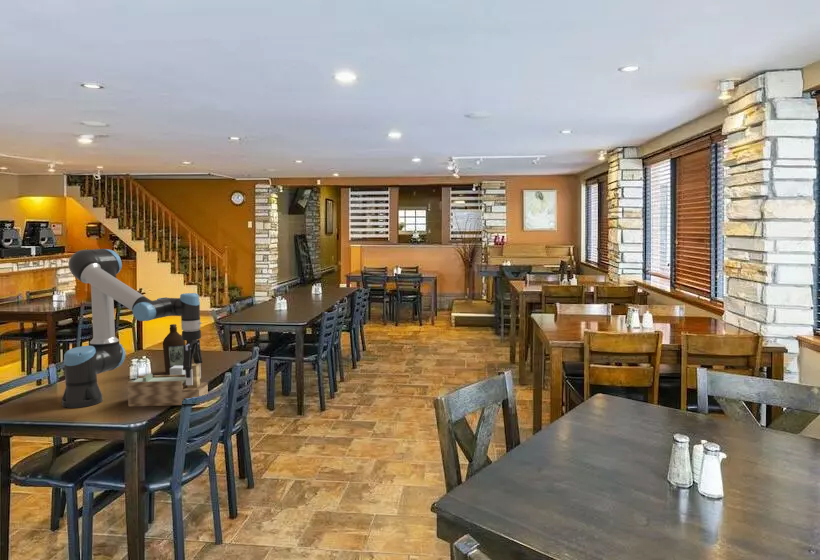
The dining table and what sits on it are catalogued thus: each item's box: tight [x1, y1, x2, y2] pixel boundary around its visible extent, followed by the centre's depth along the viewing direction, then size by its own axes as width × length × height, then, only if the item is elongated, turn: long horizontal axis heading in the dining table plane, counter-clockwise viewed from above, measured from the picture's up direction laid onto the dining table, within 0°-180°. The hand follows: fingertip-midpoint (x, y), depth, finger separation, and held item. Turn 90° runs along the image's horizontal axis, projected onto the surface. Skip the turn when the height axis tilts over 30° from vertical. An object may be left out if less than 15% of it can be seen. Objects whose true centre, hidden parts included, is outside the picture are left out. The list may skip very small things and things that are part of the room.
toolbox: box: [126, 374, 209, 407], centre depth 249 cm, size 29×12×10 cm, turn 93°
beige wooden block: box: [187, 363, 201, 388], centre depth 249 cm, size 4×4×10 cm
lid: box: [132, 373, 186, 384], centre depth 248 cm, size 21×9×3 cm, turn 93°
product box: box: [170, 366, 185, 375], centre depth 282 cm, size 6×6×7 cm
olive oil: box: [162, 323, 186, 375], centre depth 299 cm, size 11×11×25 cm
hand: (193, 381), depth 249 cm, fingers open, 10 cm apart
